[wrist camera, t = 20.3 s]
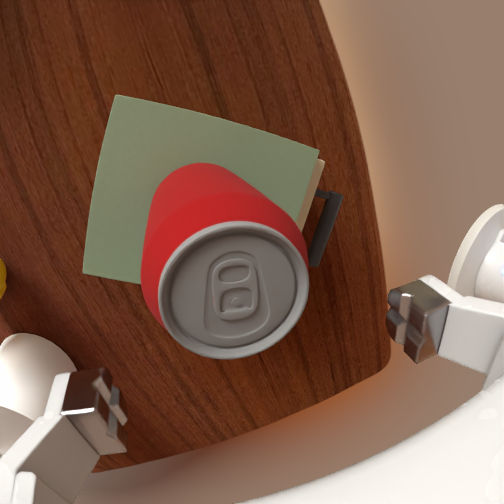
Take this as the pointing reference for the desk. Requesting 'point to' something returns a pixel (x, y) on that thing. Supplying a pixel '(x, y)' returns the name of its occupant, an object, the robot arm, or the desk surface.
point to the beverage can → (222, 264)
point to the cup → (26, 382)
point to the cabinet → (168, 160)
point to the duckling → (2, 278)
